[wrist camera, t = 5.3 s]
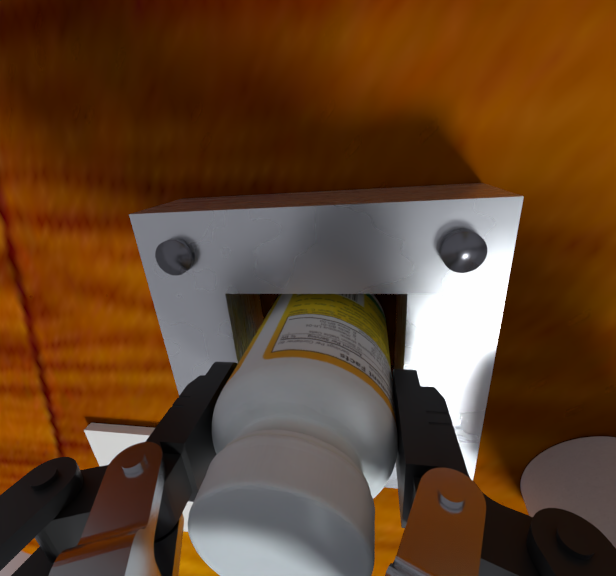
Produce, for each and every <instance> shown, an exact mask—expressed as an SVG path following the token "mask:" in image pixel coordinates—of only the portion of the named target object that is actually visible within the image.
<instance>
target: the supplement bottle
mask: <svg viewBox="0 0 616 576" xmlns="http://www.w3.org/2000/svg"><path fill="white" fill-rule="evenodd" d="M212 440H213V445H214V449H215V452H216V454H217V455H216V456H215V457H214V459H213V460H212V462H211V463H210V465H209V468H208V470H207V473H206V476H205V478H204V480H203V483H202V485H201V487H200V489H199V491H198V493H197V496H196V498H195V500H194V502H193V504H192V507H191V509H190V512H189V517H188V532H189V536H190V539H191V542H192V543H193V545H194V547H195V549H196V551H197V552H198V554H199V555H200V556H201V558H202V559H203V560H204V561H205V562H206V564H207V565H208V566H209V567H210V568H211V569H213V570H214V571H215V572H216V573H218V574H219V575H221V576H371V574H372V571H373V566H374V540H375V532H374V520H375V507H374V502H373V498H374V497H375V496H376V495H377V494H378V493H379V492H380V491H381V490H382V489H383V487H384V486H385V485H386V483H387V482H388V480H389V478H390V476H391V474H392V472H393V469H394V466H395V463H396V459H397V454H398V433H397V423H396V412H395V403H394V392H393V382H392V374H391V364H390V354H389V343H388V333H387V324H386V318H385V314H384V311H383V309H382V307H381V305H380V303H379V301H378V300H377V298H376V297H375V296H374V294H279V296H278V297H277V299H276V300H275V302H274V304H273V305H272V307H271V309H270V310H269V312H268V313H267V315H266V317H265V319H264V321H263V322H262V324H261V326H260V327H259V329H258V331H257V333H256V334H255V336H254V338H253V339H252V341H251V343H250V344H249V346H248V348H247V350H246V351H245V353H244V354H243V356H242V358H241V360H240V361H239V363H238V365H237V366H236V368H235V370H234V371H233V373H232V375H231V376H230V378H229V379H228V381H227V383H226V385H225V386H224V388H223V390H222V392H221V394H220V396H219V398H218V400H217V402H216V405H215V408H214V412H213V417H212Z"/></svg>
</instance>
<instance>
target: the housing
mask: <svg viewBox="0 0 616 576" xmlns="http://www.w3.org/2000/svg"><path fill="white" fill-rule="evenodd" d="M523 198H524V196H521V195H518V194H515V193H512V192H509V191H506V190H503V189H500V188H497V187H494V186H491V185H488V184H485V183H469V184H450V185H431V186H412V187H393V188H374V189H355V190H337V191H318V192H299V193H280V194H261V195H242V196H223V197H204V198H185V199H179V200H176V201H172V202H169V203H165V204H162V205H159V206H155V207H152V208H148V209H145V210H142V211H138V212H135V213H131V214H129V217H130V220H131V224H132V227H133V231H134V235H135V238H136V242H137V245H138V249H139V253H140V256H141V260H142V263H143V267H144V271H145V274H146V278H147V281H148V285H149V289H150V292H151V296H152V299H153V303H154V306H155V310H156V314H157V317H158V321H159V324H160V328H161V332H162V335H163V339H164V342H165V346H166V350H167V353H168V357H169V360H170V364H171V368H172V371H173V375H174V378H175V382H176V385H177V389H178V393H179V395H180V394H181V393H182V391H183V390H184V389H185V387H186V386H187V385H188V384H189V383H190V382H192V381H193V380H194V379H196V378H197V377H198V376H200V375H206V373H207V372H208V371H209V369H210V368H211V366H212V365H213V363H214V362H236V363H237V364H238V363H239V361H240V360H241V358H242V356H243V354H244V353H245V351H246V350H247V348H248V346H249V344H250V343H251V341H252V339H253V338H254V336H255V334H256V333H257V331H258V329H259V327H260V326H261V324H262V322H263V314H262V307H261V300H260V294H397V297H396V324H395V350H394V369H409V370H417V374H418V378H419V382H420V386H429V387H435V388H436V389H437V390H438V391H439V393H440V394H441V395H442V396H443V397H444V398H445V401H446V404H447V407H448V410H449V415H450V417H451V420H452V423H453V427H454V429H455V433H456V436H457V439H458V442H459V446H460V449H461V452H462V455H463V458H464V462H465V465H466V468H467V471H468V474H469V476H470V478H471V480H473V477H474V472H475V466H476V461H477V455H478V449H479V444H480V438H481V433H482V427H483V421H484V416H485V410H486V405H487V399H488V393H489V388H490V382H491V377H492V371H493V366H494V360H495V354H496V349H497V343H498V338H499V332H500V326H501V321H502V315H503V310H504V304H505V298H506V293H507V287H508V282H509V276H510V270H511V265H512V259H513V254H514V248H515V243H516V237H517V231H518V226H519V220H520V215H521V209H522V203H523ZM384 487H388V488H398V483H397V472H396V463H395V466H394V469H393V472H392V474H391V476H390V478H389V480H388V482H387V483H386V485H385V486H384Z"/></svg>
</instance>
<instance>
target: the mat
mask: <svg viewBox="0 0 616 576" xmlns="http://www.w3.org/2000/svg"><path fill="white" fill-rule="evenodd" d="M154 429H155V428H153V427H140V426H127V425H115V424H102V423H90V424H89V425H88V426H87V427H86V428H85V429H84V432H85V434H86V436H87V438H88V441H89V443H90V445H91V447H92V450H93V452H94V454H95V457H96V459H97V461H98V463H99V466H105V465H109V464H110V462H111V461H112V460H113V459H114V458H115V457H116V456H117V455H118V454H119V453H120V452H122V451H123V450H125V449H126V448H128V447H130V446H132V445H135V444H138V443H142V442H145V441H146V440H147V439H148V437H149V436H150V435H151V433H152V432H153V431H154ZM192 504H193V502H190V501H188V502H187V504H186V506H185V508H184V510H183V516H184V527H183V531H186V532H188V517H189V512H190V509H191V507H192Z"/></svg>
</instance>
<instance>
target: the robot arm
mask: <svg viewBox="0 0 616 576" xmlns="http://www.w3.org/2000/svg"><path fill="white" fill-rule="evenodd" d="M237 365H238V364H237V363H236V362H214V363H213V365H212V366H211V368H210V369H209V371H208V372H207V373H206V375H200V376H198V377H197V378H196V379H194V380H193V381H192V382H190V383H189V384H188V385H187V386H186V387H185V389H184V390H183V391H182V393H181V394H180V395H179V398H177V399H176V401H175V402H174V404H173V406H172V407H171V408H170V409H169V410H168V412H167V413H166V414H165V416H164V417H163V418H162V420H161V421H160V422H159V424H158V425H157V427H156V428H155V429H154V431H153V432H152V433H151V435H150V436H149V437H148V439H147V440H146V441H145V442H142V443H138V444H135V445H132V446H130V447H128V448H126V449H125V450H123V451H122V452H120V453H119V454H118V455H117V456H116V457H115V458H114V459H113V460H112V461H111V462H110V464H109V465H105V466H100V467H95V468H90V469H85V470H80V469H79V467H78V465H77V463H76V461H75V460H74V459H72V458H69V457H60V458H56V459H52V460H49V461H47V462H45V463H43V464H41V465H39V466H37V467H36V468H34V469H33V470H32V471H30V472H29V473H28V474H26V475H25V476H24V477H23V478H21V479H20V480H19V481H18V482H16V483H15V484H14V485H13V486H11V487H10V488H9V489H8V490H6V491H5V492H4V493H3V494H1V495H0V571H1V570H2V569H3V568H4V567H5V566H6V565H7V564H8V563H9V562H10V561H11V560H12V559H13V558H14V557H15V556H16V555H17V554H18V553H19V552H20V551H21V550H22V549H23V548H24V547H25V546H26V545H27V544H28V543H29V542H30V541H31V540H32V539H33V538H34V537H35V539H36V540H37V542H38V544H39V545H40V547H39V548H38V549H37V550H36V551H35V552H34V553H33V554H32V555H31V556H30V557H29V558H28V559H27V560H26V561H25V562H24V563H23V564H22V565H21V566H20V567H19V568H18V570H16V571H15V572H14V573H13V574H12V575H11V576H178V573H179V564H180V555H181V546H182V536H183V527H184V516H183V510H184V508H185V506H186V504H187V502H188V501H190V502H194V500H195V498H196V496H197V493H198V491H199V489H200V487H201V485H202V483H203V480H204V478H205V476H206V473H207V470H208V468H209V465H210V463H211V462H212V460H213V459H214V457H215V456H216V455H217V454H216V452H215V449H214V445H213V440H212V417H213V412H214V408H215V405H216V402H217V400H218V398H219V396H220V394H221V392H222V390H223V388H224V386H225V385H226V383H227V381H228V379H229V378H230V376H231V375H232V373H233V371H234V370H235V368H236V366H237ZM392 382H393V392H394V403H395V412H396V423H397V433H398V454H397V459H396V472H397V483H398V494H399V504H400V515H401V526H402V528H405V530H404V533H403V536H402V540H401V543H400V546H399V549H398V552H397V555H396V558H395V560H394V562H393V564H392V563H391V564H390V565H389V567H388V569H387V571H386V574H385V576H616V548H615V547H614V546H613V545H612V543H611V542H610V541H609V540H608V539H607V537H606V536H605V535H604V534H603V533H602V532H601V531H600V530H599V529H598V528H596V527H595V526H594V525H593V524H591V523H590V522H588V521H587V520H585V519H584V518H582V517H580V516H578V515H576V514H574V513H572V512H569V511H567V510H563V509H558V508H545V509H542V510H539V511H538V512H537V513H535V515H534V516H533V517H531V516H528V515H526V514H523V513H520V512H518V511H515V510H513V509H510V508H507V507H505V506H503V505H501V504H498V503H497V502H495V501H493V500H492V499H490V498H489V497H487V496H486V495H485V494H484V493H483V492H481V490H480V488H479V487H478V486H477V484H476V483H475V482H474V481H473V480H471V478H470V476H469V474H468V471H467V468H466V465H465V462H464V458H463V455H462V452H461V449H460V446H459V442H458V439H457V436H456V433H455V429H454V427H453V423H452V420H451V417H450V415H449V410H448V407H447V404H446V401H445V398H444V397H443V396H442V395H441V394H440V393H439V391H438V390H437V389H436V388H435V387H429V386H420V382H419V378H418V374H417V370H409V369H393V378H392Z"/></svg>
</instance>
